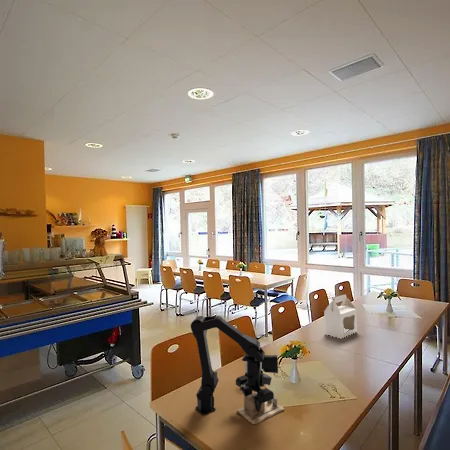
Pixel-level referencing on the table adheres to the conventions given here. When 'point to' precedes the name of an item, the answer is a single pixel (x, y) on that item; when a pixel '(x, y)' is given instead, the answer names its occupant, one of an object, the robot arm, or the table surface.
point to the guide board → (270, 410)
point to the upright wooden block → (252, 405)
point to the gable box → (340, 317)
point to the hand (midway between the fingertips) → (254, 408)
